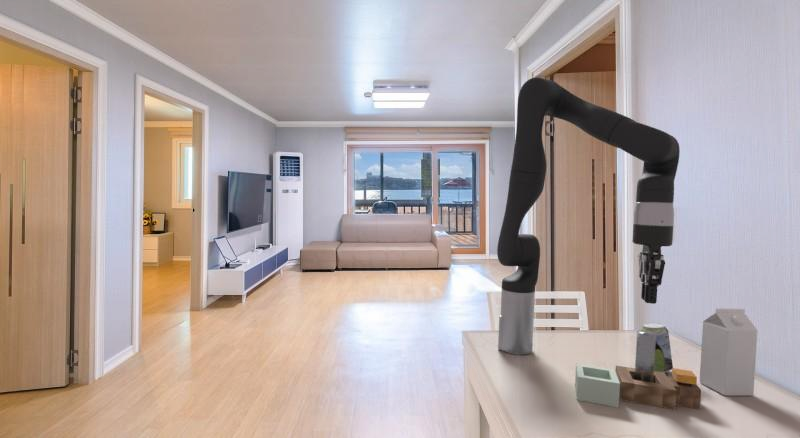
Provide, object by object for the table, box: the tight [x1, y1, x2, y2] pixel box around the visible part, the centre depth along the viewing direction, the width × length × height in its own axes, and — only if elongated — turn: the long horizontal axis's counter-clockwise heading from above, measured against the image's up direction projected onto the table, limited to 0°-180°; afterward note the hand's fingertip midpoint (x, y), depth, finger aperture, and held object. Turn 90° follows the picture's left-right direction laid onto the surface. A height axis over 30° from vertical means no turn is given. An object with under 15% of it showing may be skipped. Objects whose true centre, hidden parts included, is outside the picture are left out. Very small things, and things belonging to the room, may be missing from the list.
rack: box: [574, 363, 620, 408], centre depth 91 cm, size 8×8×5 cm
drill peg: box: [634, 329, 656, 383], centre depth 92 cm, size 4×4×14 cm
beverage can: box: [640, 322, 674, 374], centre depth 106 cm, size 6×7×12 cm
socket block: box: [614, 365, 702, 410], centre depth 91 cm, size 15×10×4 cm, turn 70°
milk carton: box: [699, 307, 758, 397], centre depth 96 cm, size 7×7×19 cm
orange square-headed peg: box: [671, 367, 698, 386], centre depth 89 cm, size 4×4×6 cm
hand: (648, 301), depth 91 cm, fingers open, 2 cm apart
